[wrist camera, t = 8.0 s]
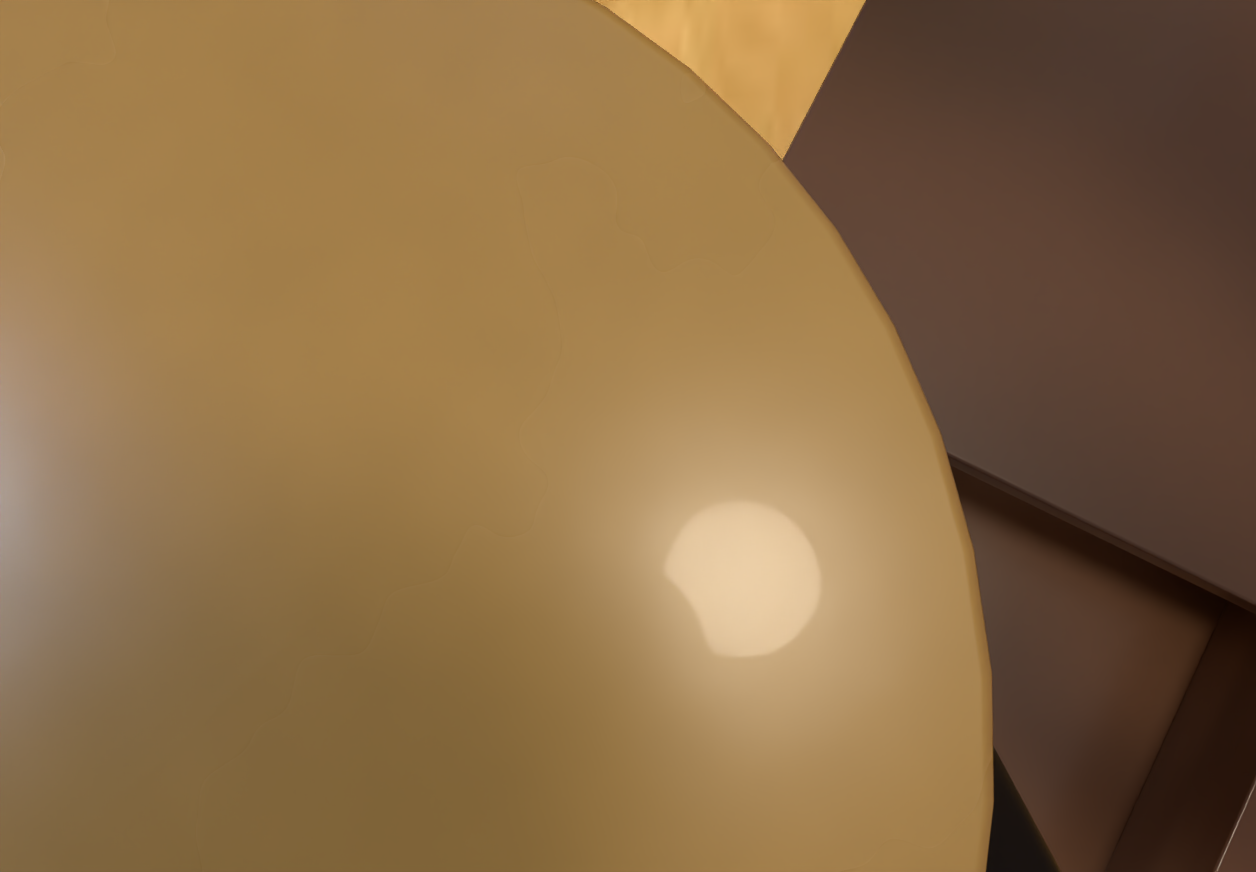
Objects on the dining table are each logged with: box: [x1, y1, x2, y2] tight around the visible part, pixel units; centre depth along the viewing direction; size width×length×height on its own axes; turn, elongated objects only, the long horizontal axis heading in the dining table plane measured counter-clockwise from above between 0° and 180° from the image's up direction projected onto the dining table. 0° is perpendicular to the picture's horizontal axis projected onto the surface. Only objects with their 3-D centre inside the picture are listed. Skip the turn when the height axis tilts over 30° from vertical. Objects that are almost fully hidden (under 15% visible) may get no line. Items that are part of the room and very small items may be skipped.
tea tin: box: [0, 0, 994, 872], centre depth 8 cm, size 6×6×10 cm
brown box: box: [782, 0, 1256, 614], centre depth 18 cm, size 13×14×6 cm
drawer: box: [950, 465, 1256, 872], centre depth 17 cm, size 17×13×4 cm
